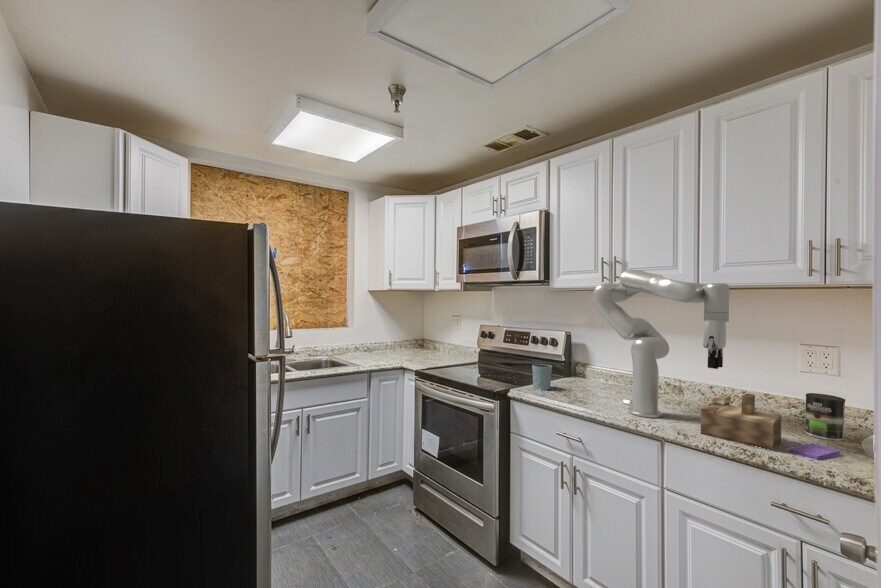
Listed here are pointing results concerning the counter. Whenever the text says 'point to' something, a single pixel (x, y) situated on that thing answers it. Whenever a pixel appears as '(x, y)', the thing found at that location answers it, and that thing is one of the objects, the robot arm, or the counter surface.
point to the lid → (748, 412)
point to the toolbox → (739, 429)
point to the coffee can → (825, 416)
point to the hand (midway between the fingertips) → (715, 367)
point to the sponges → (815, 451)
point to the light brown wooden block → (721, 399)
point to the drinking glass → (541, 376)
